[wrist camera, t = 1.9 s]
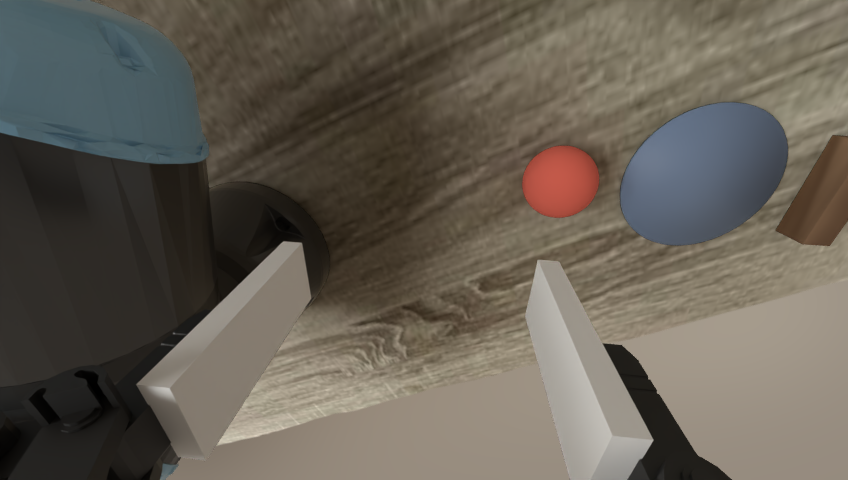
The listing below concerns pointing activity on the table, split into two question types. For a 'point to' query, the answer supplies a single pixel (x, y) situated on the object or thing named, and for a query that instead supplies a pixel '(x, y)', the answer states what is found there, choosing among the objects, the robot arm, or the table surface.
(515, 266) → the table surface
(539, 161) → the ball
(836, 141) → the block
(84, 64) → the robot arm
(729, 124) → the blue disc
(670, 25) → the table surface
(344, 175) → the table surface
